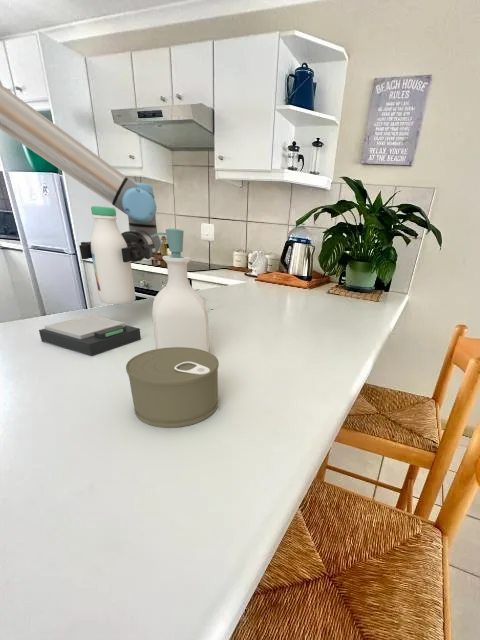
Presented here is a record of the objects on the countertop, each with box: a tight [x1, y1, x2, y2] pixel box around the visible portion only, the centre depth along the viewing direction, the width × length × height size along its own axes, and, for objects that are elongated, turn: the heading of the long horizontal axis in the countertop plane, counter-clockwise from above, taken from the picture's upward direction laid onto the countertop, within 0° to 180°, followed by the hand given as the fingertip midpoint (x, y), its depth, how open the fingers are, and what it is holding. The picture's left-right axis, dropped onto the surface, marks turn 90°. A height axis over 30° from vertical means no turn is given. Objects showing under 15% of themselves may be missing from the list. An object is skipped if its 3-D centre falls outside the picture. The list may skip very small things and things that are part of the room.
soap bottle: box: [151, 228, 210, 353], centre depth 59 cm, size 10×10×23 cm
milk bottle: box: [90, 205, 136, 305], centre depth 73 cm, size 8×8×20 cm
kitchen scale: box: [38, 314, 142, 357], centre depth 67 cm, size 14×12×3 cm
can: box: [125, 347, 220, 429], centre depth 46 cm, size 12×12×7 cm
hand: (103, 254), depth 69 cm, fingers closed on milk bottle, 8 cm apart
